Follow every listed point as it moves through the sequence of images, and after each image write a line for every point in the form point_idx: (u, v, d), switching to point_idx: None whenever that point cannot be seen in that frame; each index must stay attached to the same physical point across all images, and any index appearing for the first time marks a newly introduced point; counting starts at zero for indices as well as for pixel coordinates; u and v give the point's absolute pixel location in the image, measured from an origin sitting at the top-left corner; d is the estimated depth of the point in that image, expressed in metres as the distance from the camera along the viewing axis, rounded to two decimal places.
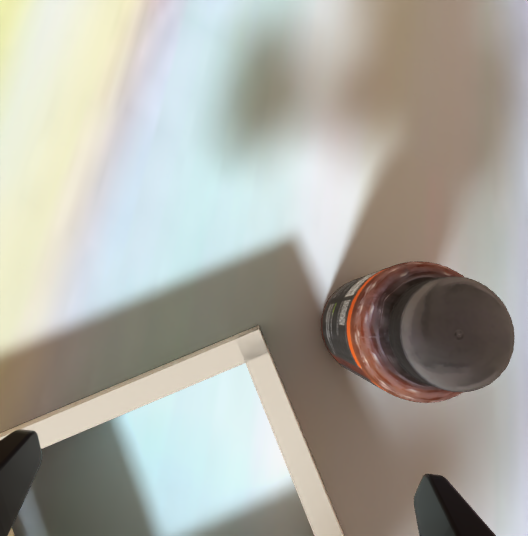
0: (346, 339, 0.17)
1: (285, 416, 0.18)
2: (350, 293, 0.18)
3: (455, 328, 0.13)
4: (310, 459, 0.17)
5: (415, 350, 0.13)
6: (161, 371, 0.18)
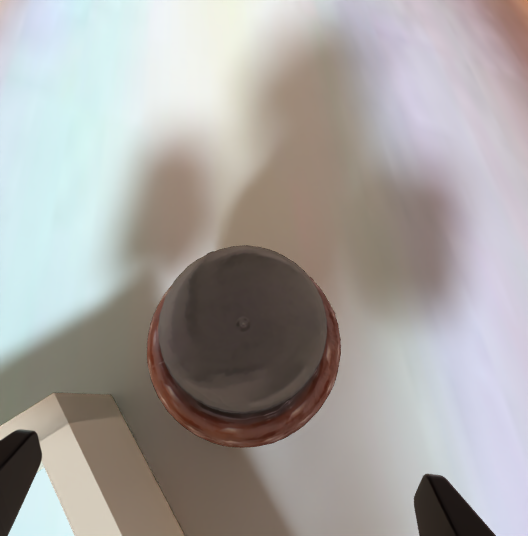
0: None
1: (97, 516, 0.12)
2: None
3: (237, 316, 0.09)
4: None
5: (180, 360, 0.08)
6: None
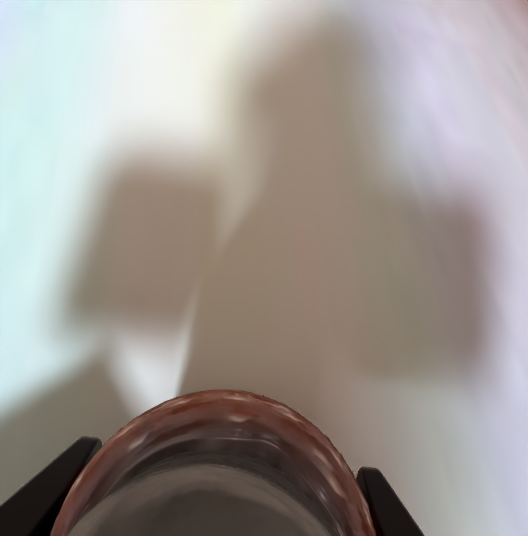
0: None
1: None
2: None
3: None
4: None
5: None
6: None
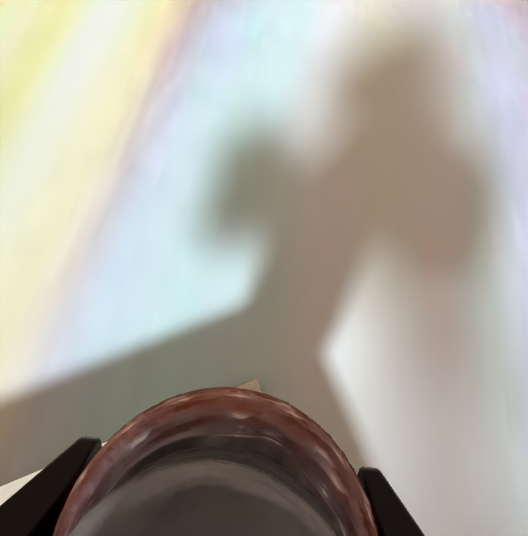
0: None
1: None
2: None
3: None
4: None
5: None
6: None
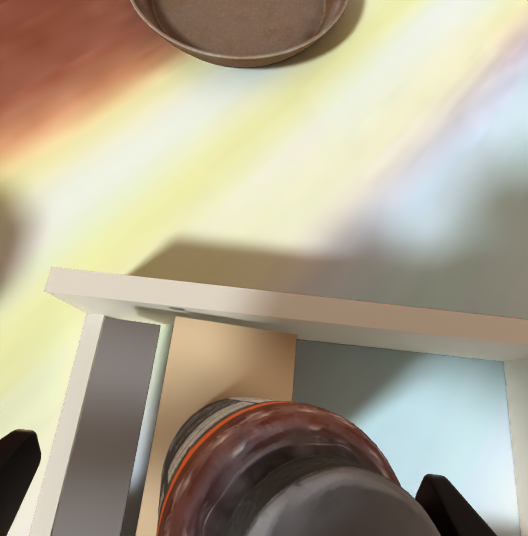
0: None
1: None
2: (170, 473, 0.10)
3: None
4: None
5: None
6: (500, 317, 0.18)
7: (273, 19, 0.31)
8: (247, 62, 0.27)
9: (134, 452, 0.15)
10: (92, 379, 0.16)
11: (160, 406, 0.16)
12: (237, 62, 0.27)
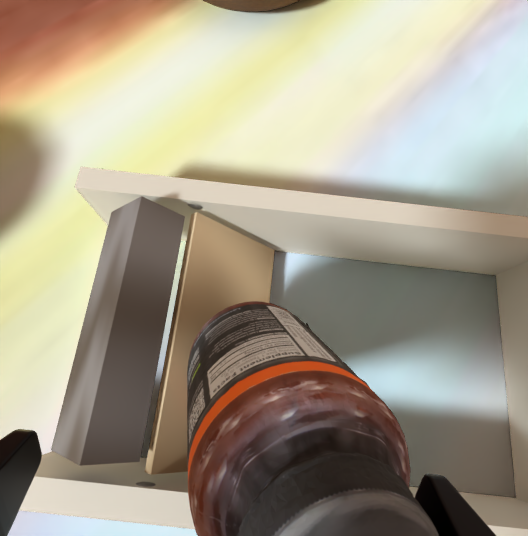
0: None
1: None
2: (211, 382, 0.11)
3: None
4: None
5: None
6: (491, 213, 0.19)
7: None
8: (255, 3, 0.29)
9: (164, 322, 0.17)
10: (130, 251, 0.16)
11: (184, 286, 0.18)
12: (246, 3, 0.29)
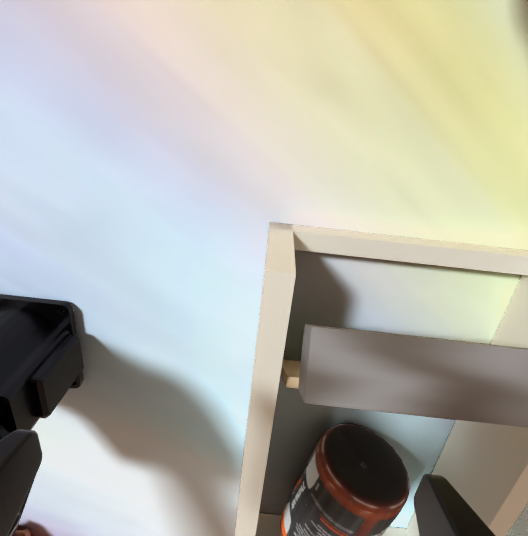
0: None
1: None
2: None
3: None
4: None
5: None
6: None
7: None
8: None
9: None
10: (514, 425, 0.15)
11: None
12: None
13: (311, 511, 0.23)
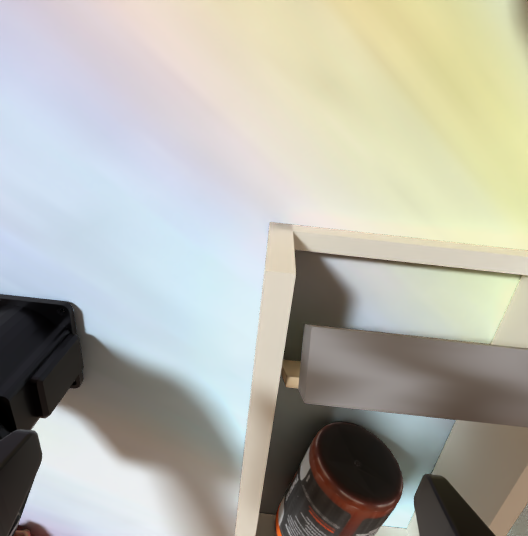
0: None
1: None
2: None
3: None
4: None
5: None
6: None
7: None
8: None
9: None
10: (514, 425, 0.15)
11: None
12: None
13: (302, 502, 0.23)
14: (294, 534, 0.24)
